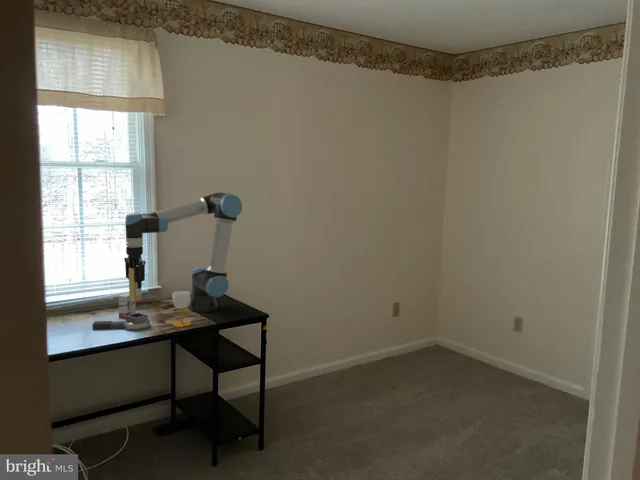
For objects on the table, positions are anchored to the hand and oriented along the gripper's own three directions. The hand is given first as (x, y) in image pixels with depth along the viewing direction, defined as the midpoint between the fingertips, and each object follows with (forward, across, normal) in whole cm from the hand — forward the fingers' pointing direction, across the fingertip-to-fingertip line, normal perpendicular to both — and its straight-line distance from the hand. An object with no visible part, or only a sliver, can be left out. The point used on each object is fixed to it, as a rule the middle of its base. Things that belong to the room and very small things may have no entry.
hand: (135, 293), depth 259 cm
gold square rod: (+3, 0, 0) cm, 3 cm away
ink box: (+17, -19, +8) cm, 27 cm away
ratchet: (+17, -5, -5) cm, 18 cm away
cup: (+17, +13, +17) cm, 27 cm away
